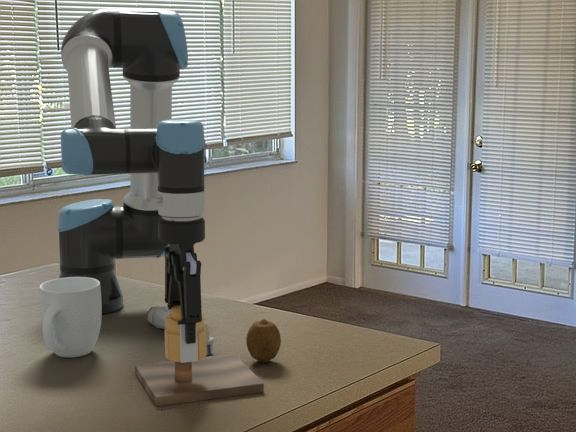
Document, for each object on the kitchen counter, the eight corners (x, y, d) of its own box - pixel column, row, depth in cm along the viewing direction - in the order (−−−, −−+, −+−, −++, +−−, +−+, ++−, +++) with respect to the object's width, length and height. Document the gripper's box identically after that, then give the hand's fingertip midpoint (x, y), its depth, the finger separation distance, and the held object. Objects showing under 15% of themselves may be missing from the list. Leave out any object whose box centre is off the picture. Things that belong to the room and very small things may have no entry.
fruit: (253, 369, 157) (253, 326, 156) (241, 358, 163) (241, 316, 162) (286, 365, 160) (286, 322, 158) (272, 354, 165) (273, 313, 164)
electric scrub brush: (166, 303, 185) (217, 317, 164) (168, 335, 186) (219, 353, 164) (142, 306, 183) (190, 321, 161) (144, 339, 183) (193, 358, 161)
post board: (135, 373, 155) (134, 342, 154) (233, 361, 161) (233, 332, 160) (156, 406, 140) (155, 373, 139) (263, 392, 147) (263, 360, 146)
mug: (77, 372, 155) (73, 299, 153) (20, 367, 158) (15, 296, 155) (113, 344, 169) (110, 278, 167) (61, 340, 172) (57, 275, 170)
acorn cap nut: (162, 352, 149) (160, 305, 147) (199, 347, 151) (198, 301, 150) (171, 364, 143) (170, 316, 142) (210, 359, 145) (209, 311, 144)
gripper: (144, 208, 150) (147, 339, 154) (174, 228, 133) (176, 376, 137) (187, 206, 153) (189, 335, 157) (222, 225, 135) (222, 370, 139)
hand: (183, 354), depth 147 cm, fingers closed on acorn cap nut, 6 cm apart
